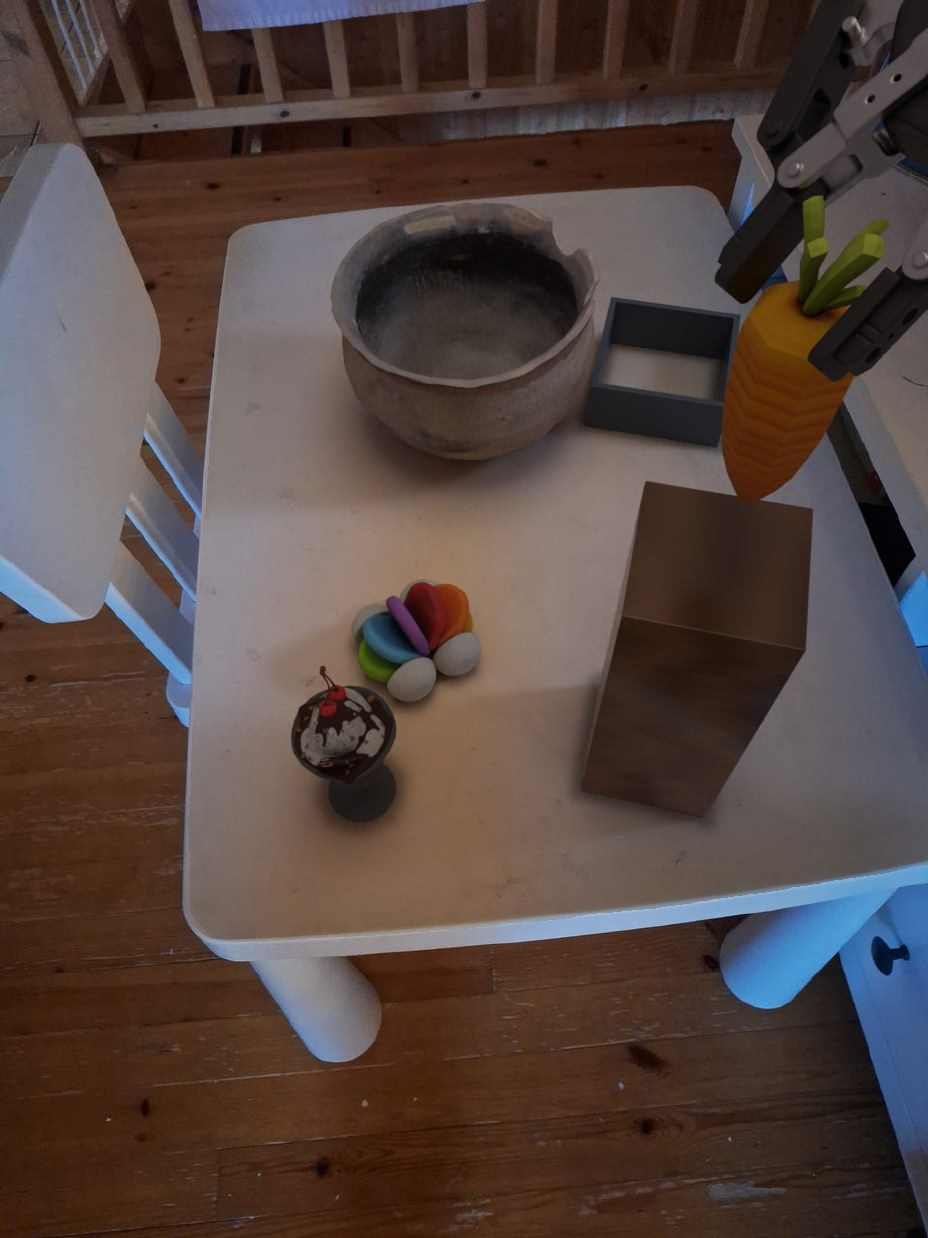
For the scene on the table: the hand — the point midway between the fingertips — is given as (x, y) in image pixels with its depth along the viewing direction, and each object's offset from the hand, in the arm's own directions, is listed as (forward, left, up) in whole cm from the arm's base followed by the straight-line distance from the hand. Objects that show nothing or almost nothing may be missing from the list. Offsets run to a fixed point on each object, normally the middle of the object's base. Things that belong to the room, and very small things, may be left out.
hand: (774, 329), depth 33 cm
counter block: (-1, -1, -39) cm, 39 cm away
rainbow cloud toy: (+18, -5, -40) cm, 44 cm away
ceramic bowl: (+20, -31, -40) cm, 54 cm away
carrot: (-2, -1, -11) cm, 11 cm away
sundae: (+19, +7, -40) cm, 44 cm away
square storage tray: (+3, -38, -39) cm, 55 cm away
